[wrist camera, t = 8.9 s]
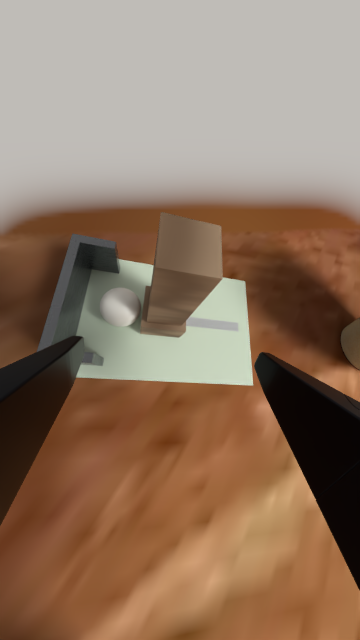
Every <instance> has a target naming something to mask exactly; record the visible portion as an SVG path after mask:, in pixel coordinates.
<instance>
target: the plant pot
mask: <svg viewBox="0 0 360 640" xmlns="http://www.w3.org/2000/svg"><path fill="white" fill-rule="evenodd" d="M341 346H342V349H343V352H344V354H345V356H346V357H347V359H348V360H349V361H350V363H351V364H352V365H353V366H355V367H356V368H357V369H359V370H360V318H358V319H357V320H355V321H354V322H352V323H351V324H349V325H348V326H346V327H345V328H344V329H343V331H342V334H341Z"/></svg>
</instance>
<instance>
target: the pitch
mask: <svg viewBox="0 0 360 640" xmlns="http://www.w3.org/2000/svg"><path fill="white" fill-rule="evenodd" d="M119 263H120V273H119V274H118V273H111V272H105V271H99V270H93V269H92V271H91V275H90V279H89V283H88V287H87V292H86V296H85V300H84V304H83V308H82V312H81V317H80V321H79V325H78V329H77V333H76V336H82V337H83V338H84V349H85V352H90V353H95V354H97V355H99V356H101V357H103V358H104V362H103V366H94V365H80V368H79V371H78V373H77V376H76V377H81V378H103V379H125V380H147V381H168V382H190V383H212V384H234V385H253V378H252V365H251V352H250V339H249V326H248V313H247V300H246V287H245V281H240V280H235V279H229V278H223V279H222V280H221V281H220V283H219V284H218V285H217V286H216V287H215V288H214V289H213V290H212V292H211V293H210V294H209V295H208V296H207V297H206V298H205V300H204V301H203V302H202V303H201V304H200V305H199V306H198V308H197V309H196V310H195V311H194V312H193V313H192V314H191V316H190V317H189V318H188V319H187V320H186V332H185V333H184V334H183V335H182V336H181V337H179V338H177V337H167V336H156V335H146V334H140V329H141V320H142V312H143V303H144V295H145V287H146V286H151V281H152V274H153V267H154V265H149V264H143V263H137V262H132V261H126V260H120V259H119ZM113 288H126V289H129V290H131V291H132V292H134V293H135V294H136V295H137V297H138V298H139V300H140V303H141V312H140V315H139V317H138V319H137V320H136V321H135V322H134V323H132V324H131V325H128V326H124V327H117V326H113V325H111V324H109V323H108V322H107V321H105V319H104V318H103V317H102V315H101V312H100V301H101V299H102V297H103V295H104V294H105V293H106V292H107V291H109V290H111V289H113Z"/></svg>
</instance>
